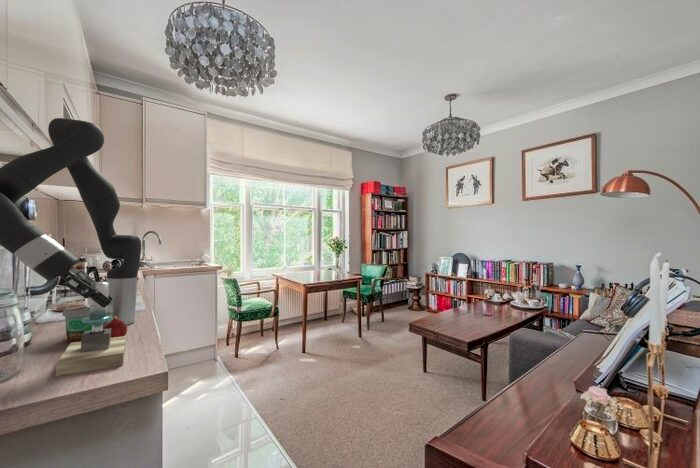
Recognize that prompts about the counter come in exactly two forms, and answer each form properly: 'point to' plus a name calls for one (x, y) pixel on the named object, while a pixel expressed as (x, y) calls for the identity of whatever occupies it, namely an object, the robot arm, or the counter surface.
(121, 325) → the onion
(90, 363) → the wooden base with socket
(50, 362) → the counter surface
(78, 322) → the food container
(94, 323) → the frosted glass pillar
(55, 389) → the counter surface
